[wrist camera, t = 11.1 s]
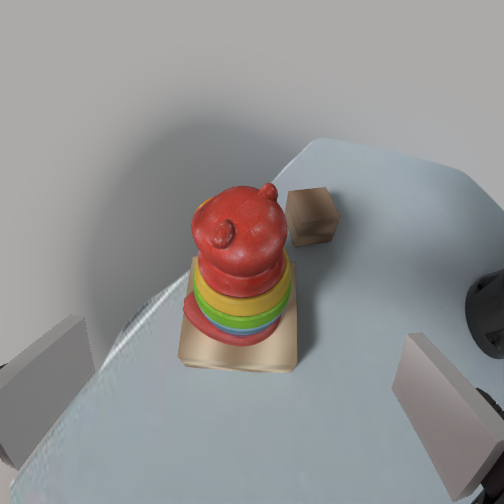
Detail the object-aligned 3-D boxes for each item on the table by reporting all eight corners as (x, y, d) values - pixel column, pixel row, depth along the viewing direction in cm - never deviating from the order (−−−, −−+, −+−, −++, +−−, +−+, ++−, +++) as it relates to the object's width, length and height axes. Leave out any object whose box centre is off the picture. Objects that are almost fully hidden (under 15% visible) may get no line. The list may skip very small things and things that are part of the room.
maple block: (289, 281, 43) (295, 262, 39) (290, 372, 36) (297, 364, 32) (197, 275, 43) (192, 256, 39) (185, 366, 36) (177, 356, 32)
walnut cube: (318, 212, 50) (325, 187, 45) (330, 241, 47) (340, 216, 42) (284, 217, 50) (288, 191, 44) (294, 247, 46) (300, 222, 41)
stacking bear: (242, 253, 39) (244, 136, 24) (303, 305, 36) (345, 201, 21) (176, 307, 35) (132, 203, 20) (236, 370, 31) (232, 303, 16)
